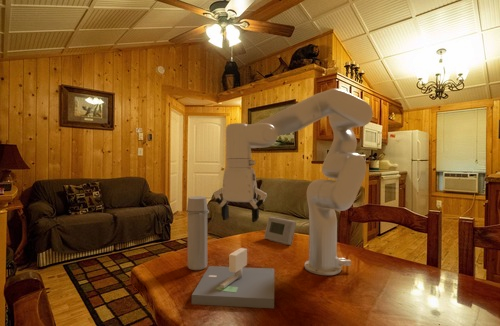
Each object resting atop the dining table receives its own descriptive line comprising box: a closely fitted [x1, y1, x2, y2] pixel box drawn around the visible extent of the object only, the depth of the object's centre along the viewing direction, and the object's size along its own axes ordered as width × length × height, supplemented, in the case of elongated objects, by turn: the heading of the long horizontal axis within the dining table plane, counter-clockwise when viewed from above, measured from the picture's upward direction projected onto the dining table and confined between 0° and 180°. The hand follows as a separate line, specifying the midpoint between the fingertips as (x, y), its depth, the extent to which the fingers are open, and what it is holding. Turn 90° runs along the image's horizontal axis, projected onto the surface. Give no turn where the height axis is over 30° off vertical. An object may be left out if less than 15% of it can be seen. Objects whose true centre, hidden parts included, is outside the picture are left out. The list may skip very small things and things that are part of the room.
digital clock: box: [264, 216, 297, 246], centre depth 131 cm, size 16×9×11 cm, turn 34°
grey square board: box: [191, 265, 275, 309], centre depth 83 cm, size 22×20×3 cm
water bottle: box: [185, 195, 210, 271], centre depth 99 cm, size 9×8×25 cm
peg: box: [220, 247, 248, 288], centre depth 83 cm, size 12×2×8 cm, turn 152°
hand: (240, 220), depth 85 cm, fingers open, 9 cm apart
